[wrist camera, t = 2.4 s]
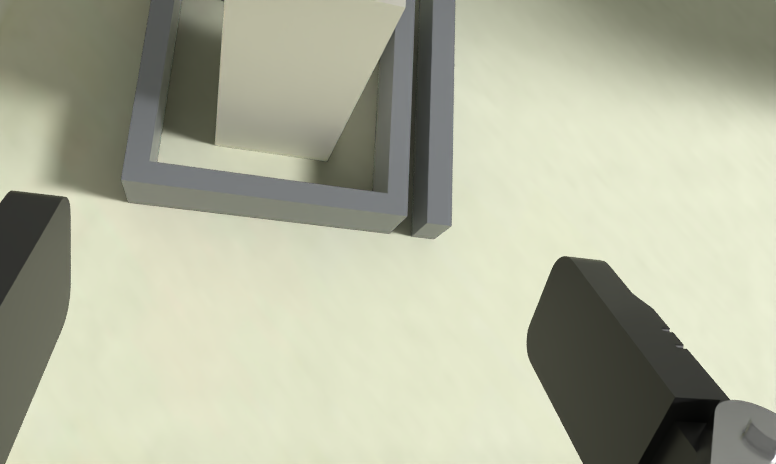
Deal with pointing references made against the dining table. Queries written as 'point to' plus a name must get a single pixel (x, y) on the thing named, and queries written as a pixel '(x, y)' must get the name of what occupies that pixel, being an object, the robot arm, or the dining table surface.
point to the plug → (297, 71)
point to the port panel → (311, 200)
